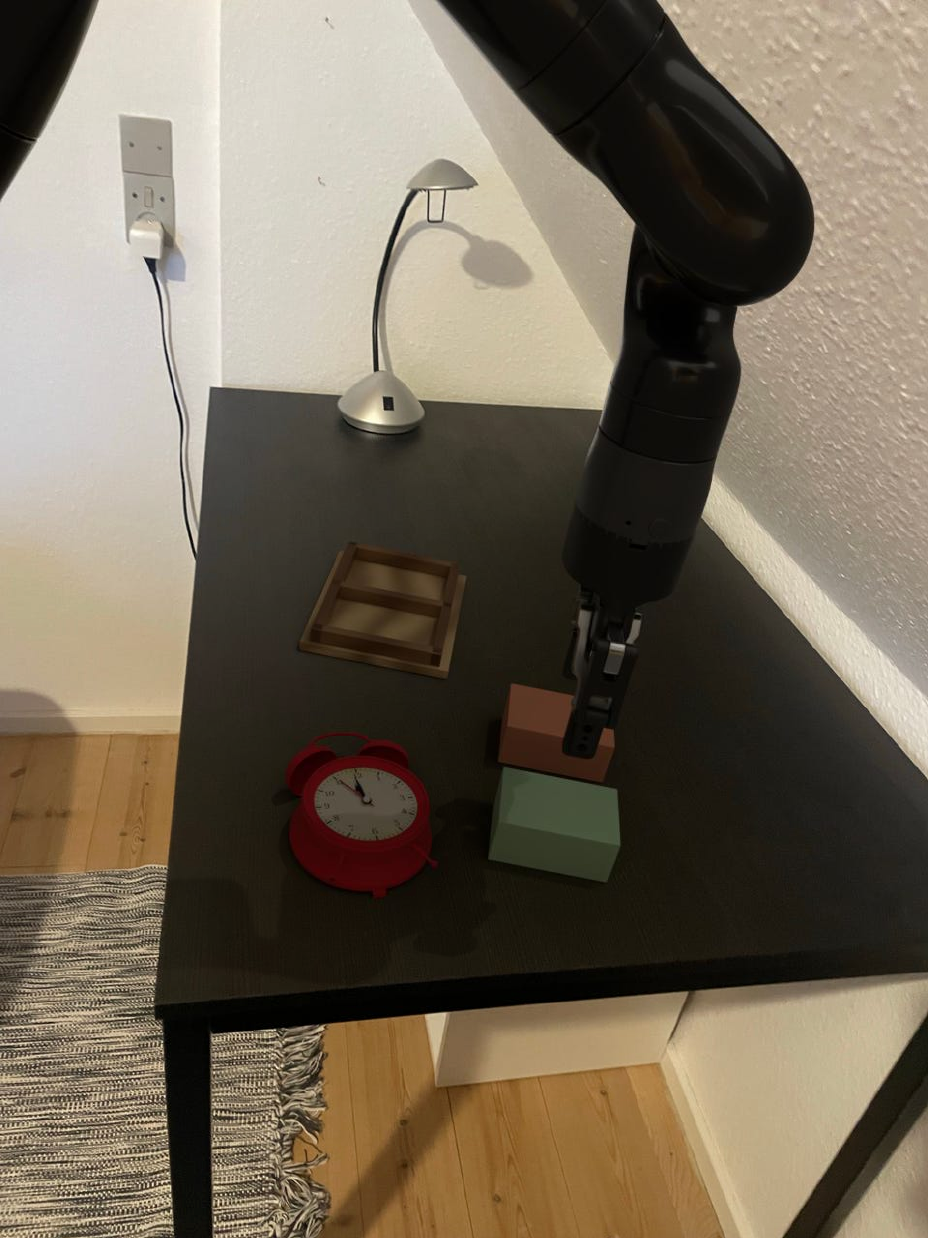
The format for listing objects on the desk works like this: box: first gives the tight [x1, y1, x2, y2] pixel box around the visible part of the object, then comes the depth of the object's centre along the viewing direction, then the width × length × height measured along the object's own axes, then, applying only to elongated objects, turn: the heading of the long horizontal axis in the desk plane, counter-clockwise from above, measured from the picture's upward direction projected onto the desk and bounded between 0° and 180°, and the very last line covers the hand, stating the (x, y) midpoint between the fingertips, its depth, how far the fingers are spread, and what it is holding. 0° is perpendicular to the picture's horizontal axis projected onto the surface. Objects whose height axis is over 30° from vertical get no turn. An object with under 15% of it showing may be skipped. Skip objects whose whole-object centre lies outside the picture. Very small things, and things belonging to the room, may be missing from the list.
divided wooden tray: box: [298, 540, 467, 680], centre depth 94 cm, size 14×18×2 cm
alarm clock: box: [285, 731, 439, 900], centre depth 70 cm, size 10×6×15 cm
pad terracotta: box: [497, 682, 615, 783], centre depth 81 cm, size 9×6×4 cm, turn 84°
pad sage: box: [487, 766, 622, 884], centre depth 72 cm, size 9×6×4 cm, turn 84°
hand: (576, 714), depth 66 cm, fingers open, 8 cm apart
